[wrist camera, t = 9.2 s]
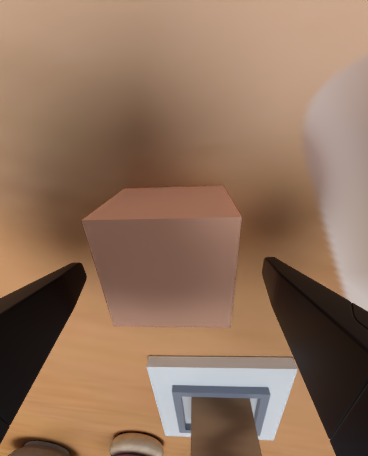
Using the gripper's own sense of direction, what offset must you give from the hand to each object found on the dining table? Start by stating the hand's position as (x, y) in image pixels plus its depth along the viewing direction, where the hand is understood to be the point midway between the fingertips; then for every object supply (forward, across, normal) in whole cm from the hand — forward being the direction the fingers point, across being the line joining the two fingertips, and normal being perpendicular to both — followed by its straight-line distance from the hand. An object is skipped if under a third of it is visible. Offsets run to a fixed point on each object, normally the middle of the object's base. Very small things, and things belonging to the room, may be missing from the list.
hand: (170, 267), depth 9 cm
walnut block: (+3, -3, +22) cm, 22 cm away
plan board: (+4, -3, +22) cm, 22 cm away
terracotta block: (+4, 0, 0) cm, 4 cm away
